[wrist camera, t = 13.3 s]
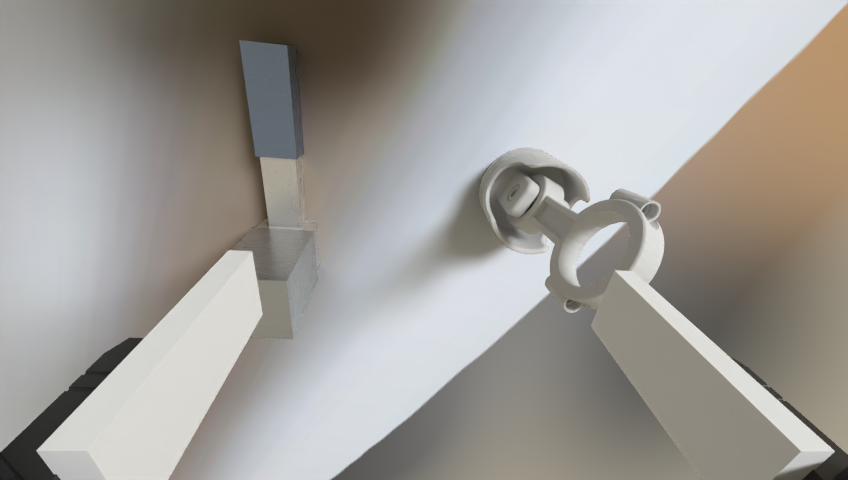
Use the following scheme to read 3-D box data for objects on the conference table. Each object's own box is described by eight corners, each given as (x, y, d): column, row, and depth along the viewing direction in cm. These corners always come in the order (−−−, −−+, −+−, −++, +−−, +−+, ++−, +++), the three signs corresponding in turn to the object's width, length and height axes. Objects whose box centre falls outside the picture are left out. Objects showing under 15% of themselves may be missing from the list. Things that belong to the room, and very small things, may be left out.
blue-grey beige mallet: (241, 41, 31) (196, 34, 24) (307, 48, 31) (280, 42, 25) (271, 261, 42) (246, 297, 35) (320, 263, 42) (304, 300, 36)
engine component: (462, 206, 40) (527, 241, 42) (511, 323, 22) (619, 371, 24) (517, 123, 36) (585, 168, 38) (635, 181, 17) (748, 259, 20)
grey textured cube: (252, 227, 36) (205, 277, 28) (314, 230, 37) (286, 281, 28) (260, 277, 39) (220, 336, 31) (317, 279, 40) (293, 339, 31)
